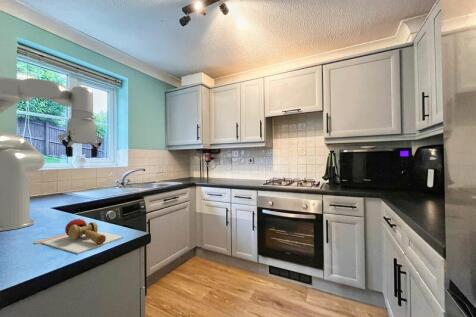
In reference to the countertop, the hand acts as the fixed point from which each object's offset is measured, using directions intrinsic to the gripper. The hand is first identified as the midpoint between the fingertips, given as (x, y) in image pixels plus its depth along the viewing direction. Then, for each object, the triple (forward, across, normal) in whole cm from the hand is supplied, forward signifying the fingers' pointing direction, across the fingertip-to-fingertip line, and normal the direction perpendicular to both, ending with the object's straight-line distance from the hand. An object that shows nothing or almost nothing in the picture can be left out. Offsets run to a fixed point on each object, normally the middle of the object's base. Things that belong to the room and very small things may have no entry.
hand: (82, 157), depth 91 cm
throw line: (+28, +12, +10) cm, 32 cm away
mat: (+28, +12, +22) cm, 38 cm away
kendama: (+28, +12, +24) cm, 38 cm away
